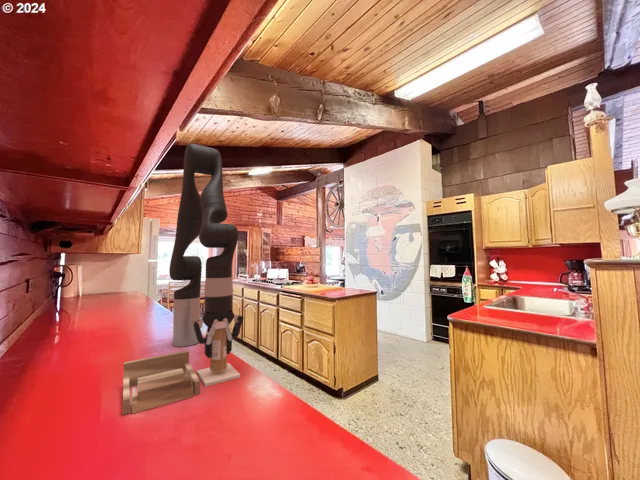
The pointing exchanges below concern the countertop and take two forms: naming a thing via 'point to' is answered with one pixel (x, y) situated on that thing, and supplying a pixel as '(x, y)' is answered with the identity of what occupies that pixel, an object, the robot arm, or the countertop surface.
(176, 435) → the countertop surface
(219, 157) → the robot arm
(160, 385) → the frame
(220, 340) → the sprinkles bottle
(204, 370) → the cream mat
